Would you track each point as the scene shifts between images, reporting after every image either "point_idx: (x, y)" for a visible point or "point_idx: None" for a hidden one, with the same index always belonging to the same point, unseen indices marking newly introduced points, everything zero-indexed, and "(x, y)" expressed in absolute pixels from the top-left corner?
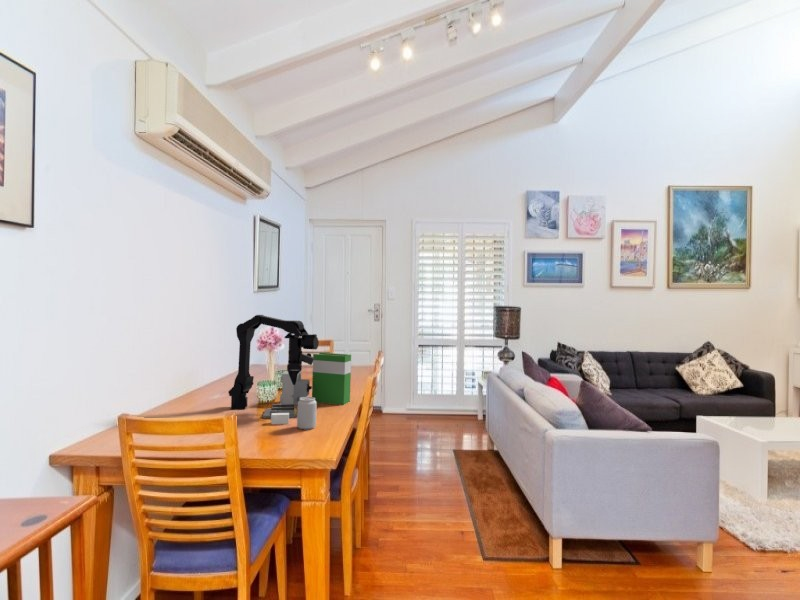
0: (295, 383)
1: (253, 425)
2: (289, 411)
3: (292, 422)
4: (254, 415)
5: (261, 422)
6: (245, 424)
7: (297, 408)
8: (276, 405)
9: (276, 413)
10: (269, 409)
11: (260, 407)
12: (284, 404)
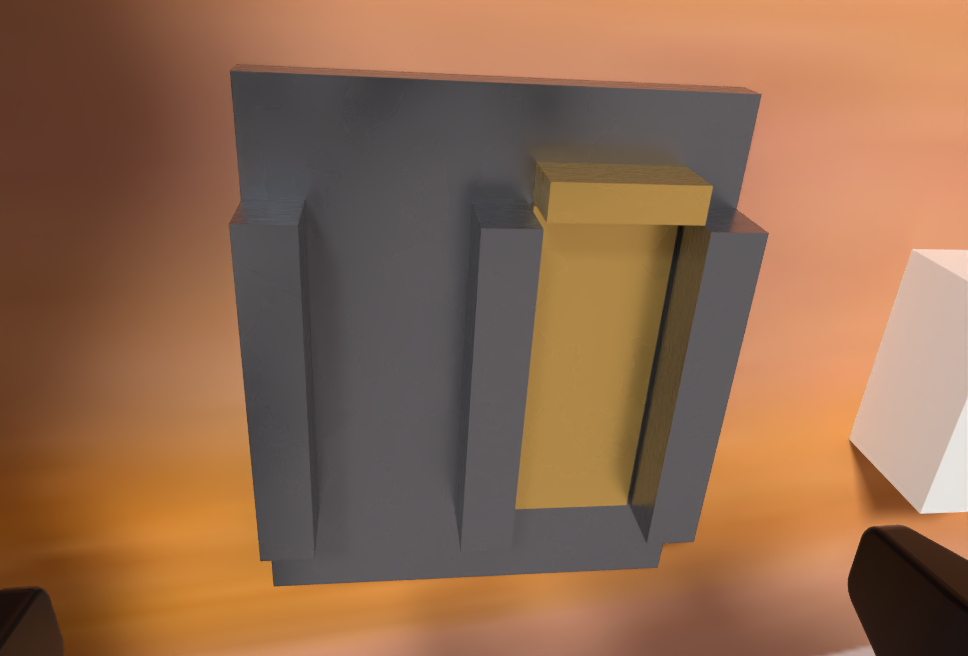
0: (945, 552)
1: None
2: (750, 292)
3: (953, 201)
4: (495, 633)
5: (811, 531)
6: (830, 641)
7: (267, 151)
8: (312, 503)
9: (960, 461)
10: (325, 542)
11: (80, 642)
12: (282, 402)
